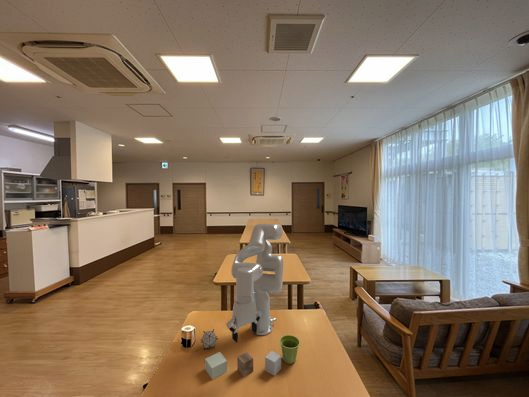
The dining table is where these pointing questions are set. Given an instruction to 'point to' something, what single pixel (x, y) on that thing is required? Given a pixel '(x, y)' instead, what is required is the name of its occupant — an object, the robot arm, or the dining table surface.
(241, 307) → the robot arm
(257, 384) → the dining table surface
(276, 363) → the grey block
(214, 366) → the base block
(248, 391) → the dining table surface
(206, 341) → the grey spiky ball
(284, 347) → the plant pot
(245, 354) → the walnut block
